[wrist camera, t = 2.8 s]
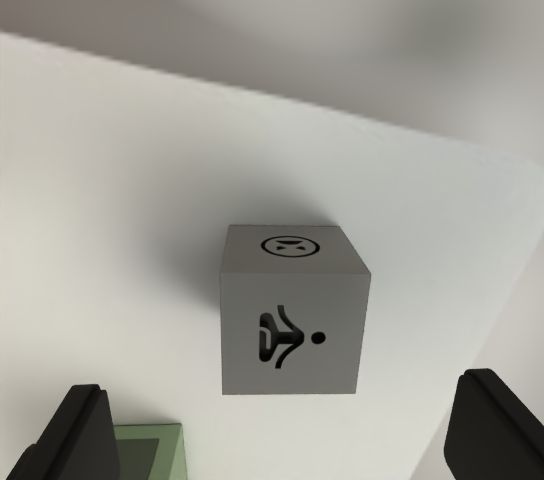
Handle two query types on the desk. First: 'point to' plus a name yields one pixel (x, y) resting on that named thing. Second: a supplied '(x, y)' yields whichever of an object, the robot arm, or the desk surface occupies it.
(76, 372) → the desk surface
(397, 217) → the desk surface
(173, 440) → the green cube
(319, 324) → the dice cube
